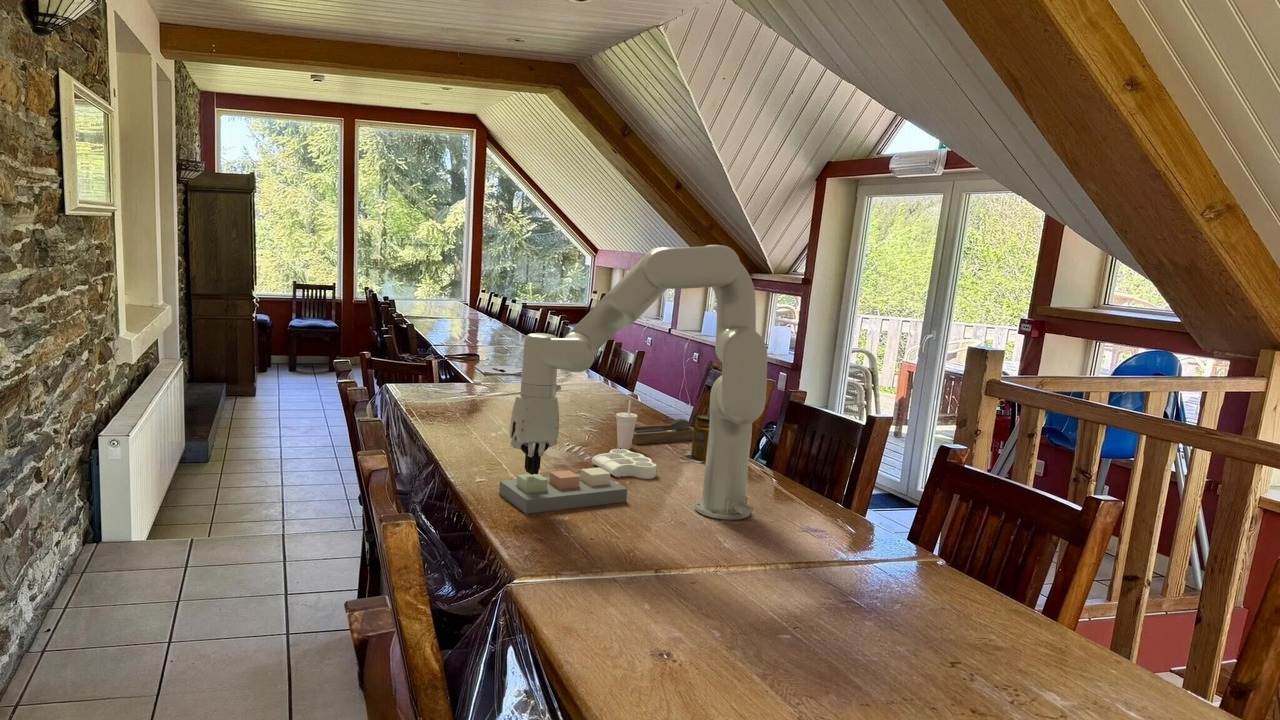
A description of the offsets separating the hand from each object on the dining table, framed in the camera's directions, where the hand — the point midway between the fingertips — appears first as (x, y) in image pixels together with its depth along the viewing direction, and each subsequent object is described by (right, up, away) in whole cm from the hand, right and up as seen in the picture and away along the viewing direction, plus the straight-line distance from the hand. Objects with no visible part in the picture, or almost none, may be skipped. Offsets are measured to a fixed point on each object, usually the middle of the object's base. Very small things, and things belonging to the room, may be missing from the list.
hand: (531, 472), depth 176 cm
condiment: (+40, -3, +50) cm, 64 cm away
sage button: (0, -5, +1) cm, 5 cm away
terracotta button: (+6, -5, +5) cm, 10 cm away
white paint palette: (+20, -4, +33) cm, 39 cm away
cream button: (+13, -5, +9) cm, 17 cm away
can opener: (+30, 0, +69) cm, 76 cm away
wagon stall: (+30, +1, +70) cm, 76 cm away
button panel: (+6, -6, +5) cm, 10 cm away
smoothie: (+19, -1, +55) cm, 58 cm away
